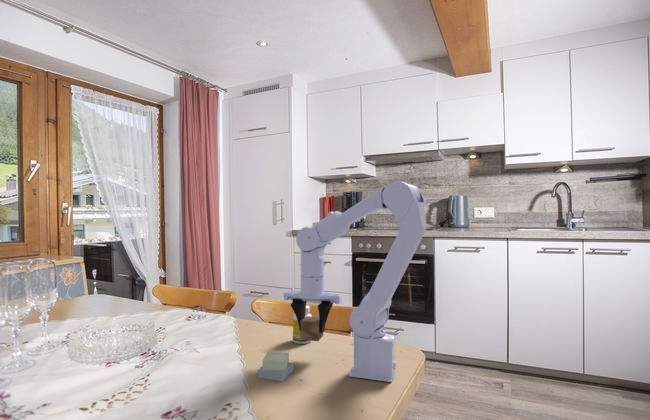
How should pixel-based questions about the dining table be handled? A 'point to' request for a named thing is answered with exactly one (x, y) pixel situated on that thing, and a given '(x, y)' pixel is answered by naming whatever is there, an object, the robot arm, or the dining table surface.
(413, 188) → the robot arm
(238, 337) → the dining table surface
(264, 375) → the slate slab
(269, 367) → the sage block
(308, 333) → the walnut cube
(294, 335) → the supplement bottle
